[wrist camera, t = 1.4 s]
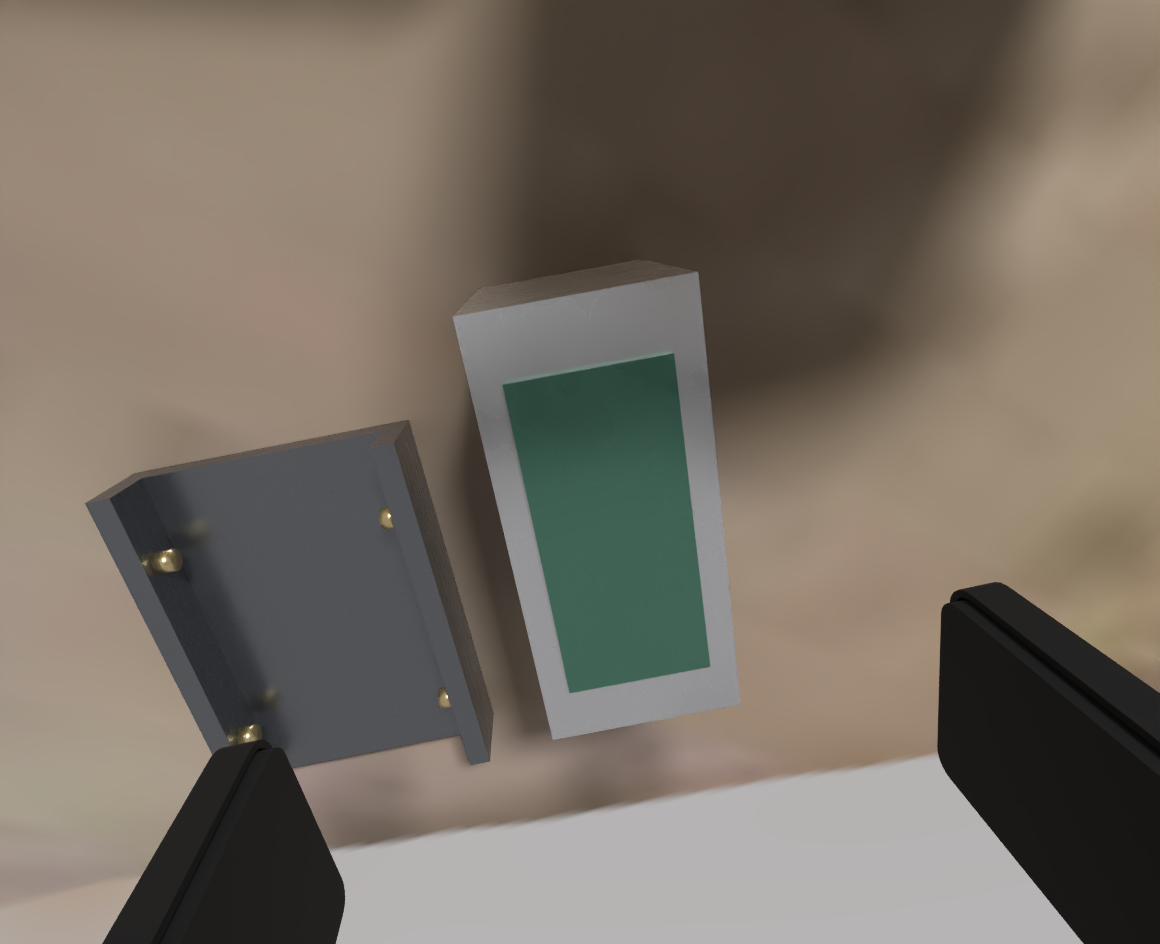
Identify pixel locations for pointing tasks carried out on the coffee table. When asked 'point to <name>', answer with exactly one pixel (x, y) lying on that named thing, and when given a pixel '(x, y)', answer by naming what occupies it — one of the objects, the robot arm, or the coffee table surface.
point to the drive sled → (303, 596)
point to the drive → (607, 488)
